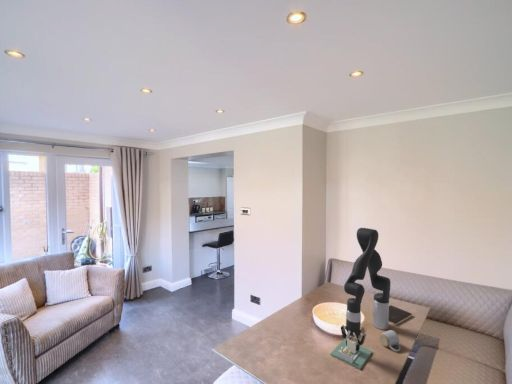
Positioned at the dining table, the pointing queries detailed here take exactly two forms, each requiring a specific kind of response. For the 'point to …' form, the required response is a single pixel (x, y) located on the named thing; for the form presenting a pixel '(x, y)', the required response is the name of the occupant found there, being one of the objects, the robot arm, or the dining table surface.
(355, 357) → the header board
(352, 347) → the plug block
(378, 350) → the dining table surface
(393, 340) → the ceramic mug
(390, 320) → the hardcover book
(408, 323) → the dining table surface
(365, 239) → the robot arm
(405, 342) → the dining table surface
